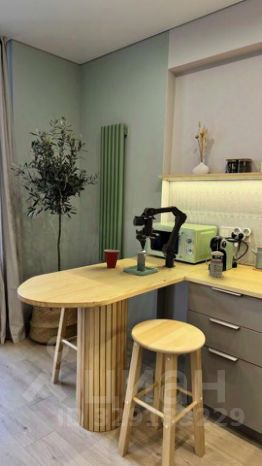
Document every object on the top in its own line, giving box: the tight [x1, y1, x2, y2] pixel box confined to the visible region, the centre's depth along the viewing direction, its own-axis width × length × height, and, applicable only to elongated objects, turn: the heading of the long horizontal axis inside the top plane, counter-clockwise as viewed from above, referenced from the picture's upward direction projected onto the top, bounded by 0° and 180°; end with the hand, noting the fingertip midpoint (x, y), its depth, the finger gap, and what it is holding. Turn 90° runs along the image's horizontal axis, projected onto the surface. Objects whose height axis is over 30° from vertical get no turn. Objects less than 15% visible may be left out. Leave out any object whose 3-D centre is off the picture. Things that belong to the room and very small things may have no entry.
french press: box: [205, 236, 224, 278], centre depth 205 cm, size 10×12×25 cm
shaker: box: [136, 249, 147, 272], centre depth 207 cm, size 5×5×13 cm
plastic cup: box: [103, 249, 121, 269], centre depth 216 cm, size 11×11×12 cm
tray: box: [122, 264, 159, 277], centre depth 208 cm, size 16×16×2 cm
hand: (147, 248), depth 218 cm, fingers open, 9 cm apart
